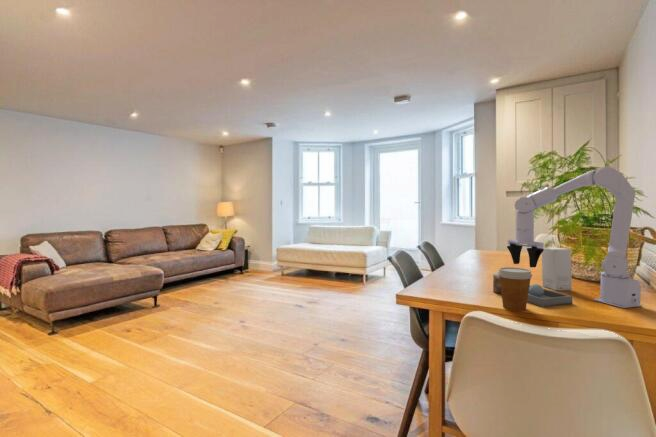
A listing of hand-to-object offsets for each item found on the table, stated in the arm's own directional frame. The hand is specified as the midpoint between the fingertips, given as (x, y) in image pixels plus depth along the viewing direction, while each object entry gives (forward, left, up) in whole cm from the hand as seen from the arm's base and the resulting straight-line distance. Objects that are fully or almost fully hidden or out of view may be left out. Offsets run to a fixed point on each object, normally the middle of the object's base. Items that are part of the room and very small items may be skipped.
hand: (524, 265), depth 128 cm
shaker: (0, +11, -9) cm, 14 cm away
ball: (-11, +6, -9) cm, 15 cm away
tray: (-11, +6, -9) cm, 16 cm away
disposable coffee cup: (-17, +21, -10) cm, 29 cm away
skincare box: (-1, -14, -10) cm, 17 cm away
